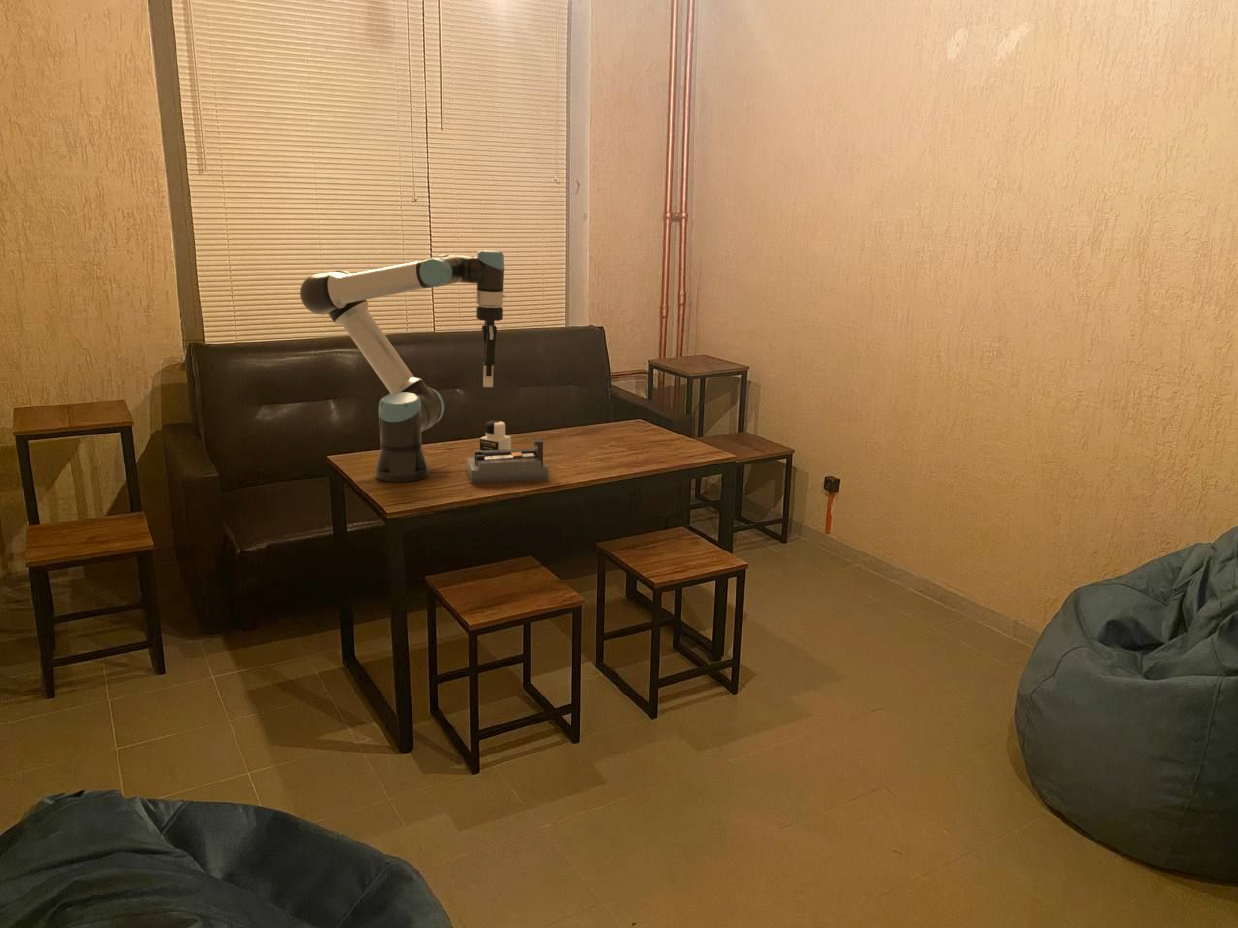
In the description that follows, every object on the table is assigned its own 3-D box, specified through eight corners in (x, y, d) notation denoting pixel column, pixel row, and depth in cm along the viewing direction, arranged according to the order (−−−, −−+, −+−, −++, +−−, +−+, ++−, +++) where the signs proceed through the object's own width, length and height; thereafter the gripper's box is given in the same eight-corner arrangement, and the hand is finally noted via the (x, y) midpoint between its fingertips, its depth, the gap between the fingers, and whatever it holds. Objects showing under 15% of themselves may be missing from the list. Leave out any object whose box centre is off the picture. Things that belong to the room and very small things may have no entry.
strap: (477, 464, 260) (477, 458, 260) (476, 461, 264) (475, 454, 263) (534, 460, 264) (534, 454, 264) (532, 457, 268) (532, 450, 267)
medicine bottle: (479, 459, 280) (479, 422, 277) (492, 454, 286) (492, 418, 283) (498, 463, 277) (498, 425, 274) (511, 458, 283) (511, 421, 280)
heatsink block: (472, 484, 256) (471, 448, 253) (467, 470, 269) (466, 436, 266) (547, 480, 262) (548, 445, 259) (539, 466, 275) (539, 433, 272)
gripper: (505, 309, 252) (503, 391, 259) (500, 303, 264) (498, 382, 271) (478, 308, 250) (477, 391, 257) (474, 302, 262) (473, 381, 269)
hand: (488, 386), depth 264 cm, fingers closed
